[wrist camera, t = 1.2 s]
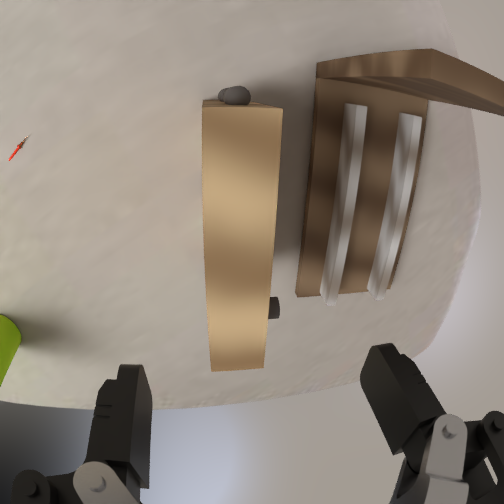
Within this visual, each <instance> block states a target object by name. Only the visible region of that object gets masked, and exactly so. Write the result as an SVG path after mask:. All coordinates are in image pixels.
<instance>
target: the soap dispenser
mask: <svg viewBox="0 0 504 504" xmlns="http://www.w3.org/2000/svg"><path fill="white" fill-rule="evenodd" d="M20 343H21V334H20V331H19V330H18V328H17V327H16V325H15V324H14V323H13V322H12V321H11V320H10V319H8V318H7V317H5V316H3V315H0V386H1V384H2V382H3V379H4V377H5V375H6V373H7V370H8V368H9V366H10V364H11V362H12V359H13V357H14V355H15V353H16V351H17V349H18V347H19V345H20Z"/></svg>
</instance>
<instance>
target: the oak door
mask: <svg viewBox="0 0 504 504" xmlns="http://www.w3.org/2000/svg"><path fill="white" fill-rule="evenodd" d="M218 97H219V100H203V105H202V194H203V233H204V260H205V282H206V301H207V318H208V334H209V348H210V361H211V372H216V371H232V370H246V369H258V368H264V357H265V346H266V335H267V324H268V319H276V318H279V315H280V306H279V300H278V298H277V297H270V289H271V277H272V264H273V252H274V239H275V225H276V211H277V197H278V182H279V167H280V151H281V134H282V116H283V109H282V108H278V107H273V106H269V105H264V104H260V103H255V102H250V100H251V95H250V92H249V91H248V90H247V89H246V88H245V87H242V86H235V87H230V88H226V89H223V90H221V91H220V92H219V95H218Z"/></svg>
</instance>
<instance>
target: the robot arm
mask: <svg viewBox="0 0 504 504" xmlns="http://www.w3.org/2000/svg"><path fill="white" fill-rule="evenodd" d="M360 382H361V386H362V389H363V391H364V393H365V395H366V397H367V399H368V402H369V404H370V406H371V408H372V410H373V412H374V414H375V416H376V419H377V420H378V423H379V425H380V427H381V430H382V432H383V434H384V436H385V438H386V440H387V443H388V445H389V447H390V449H391V452H392V454H393V455H395V454H398V453H402V452H404V454H405V456H406V457H405V458H404V460H403V463H402V466H401V470H400V473H399V476H398V480H397V483H396V486H395V489H394V492H393V496H392V498H391V501H390V503H389V504H504V414H503V413H501V412H499V411H491V412H489V413H488V414H487V415H486V416H485V417H484V418H483V419H482V420H479V421H468V422H463V420H462V419H460V418H459V417H457V416H455V415H452V414H447V413H446V412H445V411H444V409H443V408H442V406H441V404H440V402H439V401H438V399H437V398H436V396H435V394H434V393H433V391H432V389H431V388H430V386H429V385H428V383H426V380H425V378H424V377H423V375H421V372H420V371H419V369H418V367H417V366H416V364H415V363H414V362H413V361H412V360H411V359H410V358H408V357H407V356H406V355H405V354H401V355H400V353H399V352H398V350H397V349H396V347H395V346H394V345H393V344H392V343H387V344H381V345H376V346H372V347H371V348H370V350H369V353H368V356H367V358H366V361H365V363H364V366H363V368H362V371H361V374H360ZM151 421H152V395H151V390H150V387H149V384H148V381H147V377H146V374H145V371H144V367H143V365H129V364H121V365H120V366H119V370H118V375H117V380H111V379H107V380H106V381H105V382H104V384H103V385H102V387H101V388H100V389H99V391H98V395H97V400H96V407H95V410H94V418H93V420H92V426H91V431H90V437H89V443H88V449H87V456H86V459H85V461H84V463H83V464H82V465H81V466H80V467H79V468H78V469H77V470H76V471H74V472H72V473H69V474H63V475H56V476H47V477H45V476H44V475H42V474H41V473H40V472H38V471H35V470H24V471H22V472H20V473H19V474H18V475H17V476H16V477H15V479H14V481H13V487H12V494H11V502H10V504H142V503H141V501H140V488H147V489H149V469H150V467H149V466H150V440H151ZM486 457H488V459H489V461H490V463H491V465H492V467H493V470H494V472H495V474H496V476H497V479H498V482H497V485H496V484H495V483H494V481H493V478H492V476H491V474H490V472H489V470H488V468H487V466H486V464H485V461H484V459H485V458H486Z"/></svg>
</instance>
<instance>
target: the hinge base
mask: <svg viewBox="0 0 504 504" xmlns="http://www.w3.org/2000/svg"><path fill="white" fill-rule="evenodd" d="M428 100H433V101H438V102H444V103H449V104H454V105H459V106H464V107H468V108H473V109H477V110H481V111H486V112H489V113H494V114H497V115H501V116H504V81H502V80H500V79H498V78H496V77H494V76H492V75H490V74H489V73H487V72H485V71H482V70H480V69H478V68H476V67H474V66H472V65H470V64H468V63H465V62H463V61H461V60H459V59H456V58H454V57H452V56H449V55H447V54H444V53H442V52H439V51H437V50H434V49H415V50H402V51H391V52H382V53H374V54H366V55H359V56H352V57H346V58H340V59H334V60H329V61H323V62H318V63H317V67H316V85H315V101H314V116H313V129H312V142H311V154H310V165H309V176H308V187H307V197H306V206H305V216H304V225H303V234H302V242H301V251H300V259H299V267H298V275H297V282H296V290H295V293H296V295H297V297H309V296H322V298H323V299H324V301H325V303H326V305H327V306H330V305H336V301H337V297H338V294H345V293H356V292H366V291H369V292H370V293H371V294H372V296H373V297H374V299H375V300H376V301H377V300H383V299H384V296H385V293H386V289H390V288H391V284H392V281H393V278H394V274H395V271H396V267H397V264H398V260H399V256H400V253H401V249H402V245H403V241H404V237H405V233H406V229H407V225H408V220H409V216H410V211H411V207H412V202H413V197H414V192H415V187H416V182H417V177H418V171H419V165H420V159H421V153H422V146H423V139H424V131H425V123H426V115H427V105H428Z"/></svg>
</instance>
